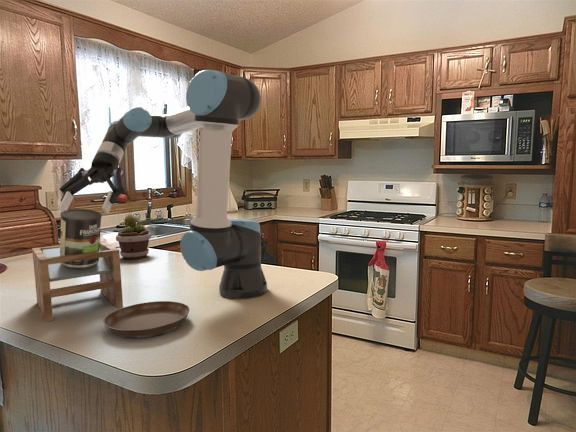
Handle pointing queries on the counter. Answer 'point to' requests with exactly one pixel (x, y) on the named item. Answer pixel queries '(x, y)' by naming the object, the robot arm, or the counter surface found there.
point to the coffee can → (80, 235)
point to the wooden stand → (107, 284)
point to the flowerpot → (133, 239)
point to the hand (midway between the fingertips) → (82, 211)
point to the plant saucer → (146, 319)
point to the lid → (65, 272)
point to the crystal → (110, 239)
